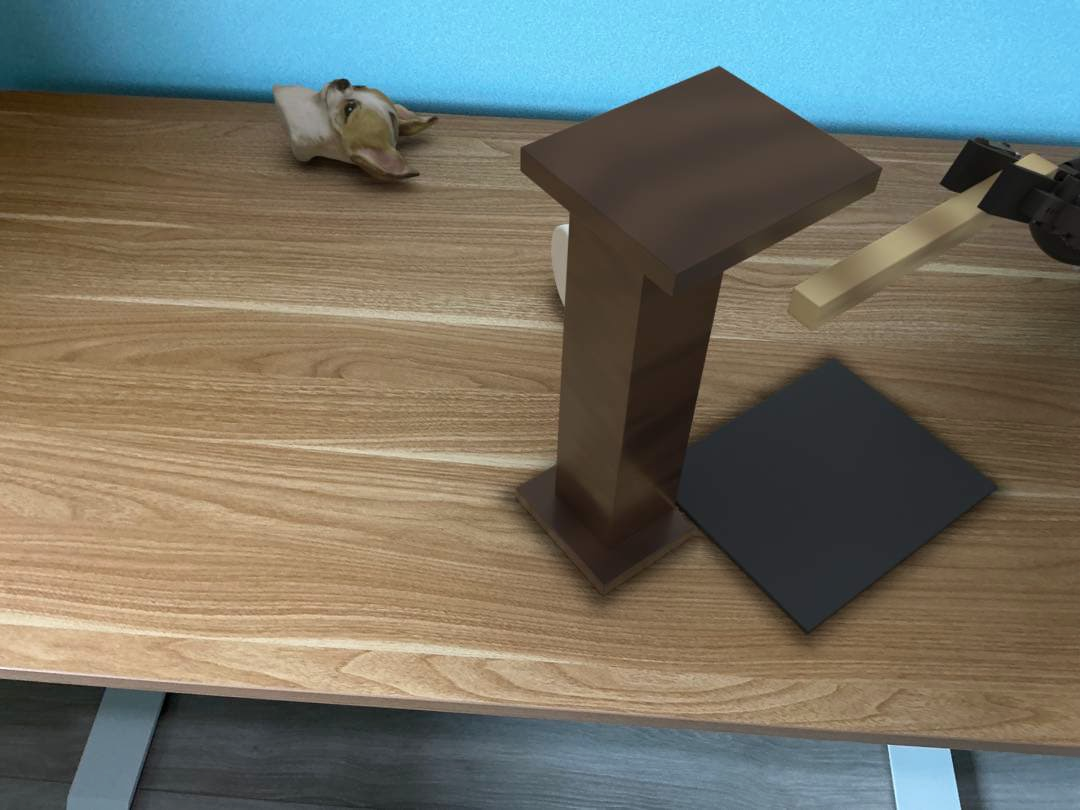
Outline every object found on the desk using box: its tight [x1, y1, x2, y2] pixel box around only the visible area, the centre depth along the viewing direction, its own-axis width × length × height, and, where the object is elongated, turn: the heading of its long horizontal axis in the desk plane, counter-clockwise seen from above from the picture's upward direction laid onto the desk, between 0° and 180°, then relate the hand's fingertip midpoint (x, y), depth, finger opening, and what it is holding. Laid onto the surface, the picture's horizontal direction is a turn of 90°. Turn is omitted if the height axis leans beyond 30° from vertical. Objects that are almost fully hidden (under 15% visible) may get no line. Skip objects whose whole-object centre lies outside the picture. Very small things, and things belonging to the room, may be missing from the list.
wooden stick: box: [786, 152, 1058, 332], centre depth 54 cm, size 20×2×2 cm, turn 127°
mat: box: [675, 357, 999, 635], centre depth 73 cm, size 16×20×1 cm
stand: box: [514, 65, 883, 597], centre depth 61 cm, size 12×15×28 cm
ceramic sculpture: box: [271, 78, 440, 181], centre depth 95 cm, size 11×9×15 cm
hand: (979, 176), depth 53 cm, fingers closed on wooden stick, 2 cm apart
